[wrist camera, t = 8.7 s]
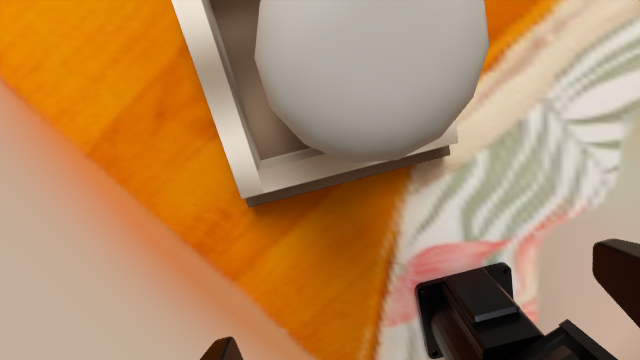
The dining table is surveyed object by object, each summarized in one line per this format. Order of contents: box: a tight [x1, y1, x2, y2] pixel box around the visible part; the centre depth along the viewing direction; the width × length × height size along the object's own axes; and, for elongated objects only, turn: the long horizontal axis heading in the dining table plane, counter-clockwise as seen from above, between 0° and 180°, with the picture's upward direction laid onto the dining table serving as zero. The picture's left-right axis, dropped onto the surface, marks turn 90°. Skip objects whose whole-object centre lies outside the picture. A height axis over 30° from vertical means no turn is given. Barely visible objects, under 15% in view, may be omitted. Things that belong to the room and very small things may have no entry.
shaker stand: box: [172, 0, 458, 207], centre depth 17 cm, size 14×12×3 cm
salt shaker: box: [254, 0, 489, 163], centre depth 12 cm, size 6×6×13 cm
